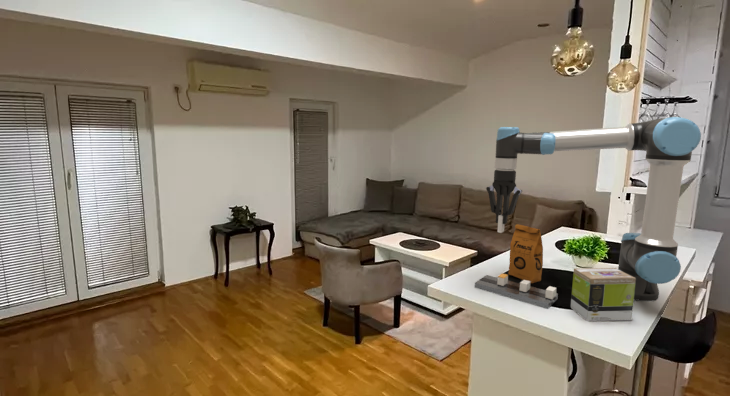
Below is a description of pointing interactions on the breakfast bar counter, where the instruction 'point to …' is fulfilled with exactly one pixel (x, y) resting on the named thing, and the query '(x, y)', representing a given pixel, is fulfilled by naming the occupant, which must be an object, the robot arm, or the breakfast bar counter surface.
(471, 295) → the breakfast bar counter surface
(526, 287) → the block
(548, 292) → the block
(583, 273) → the tea box
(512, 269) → the coffee package
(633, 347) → the breakfast bar counter surface
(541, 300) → the panel
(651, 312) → the breakfast bar counter surface
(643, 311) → the breakfast bar counter surface
